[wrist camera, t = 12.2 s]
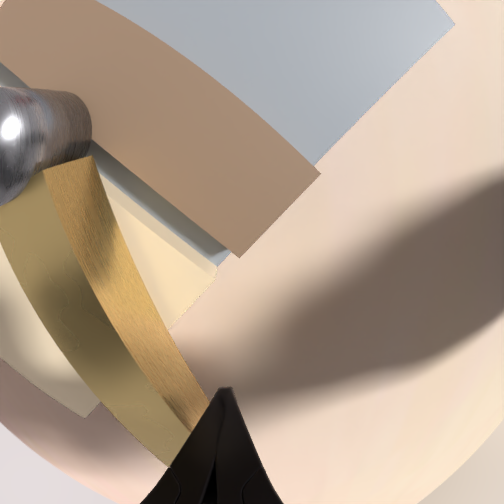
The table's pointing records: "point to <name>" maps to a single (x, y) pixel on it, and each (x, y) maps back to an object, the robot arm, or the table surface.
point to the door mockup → (198, 126)
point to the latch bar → (87, 270)
